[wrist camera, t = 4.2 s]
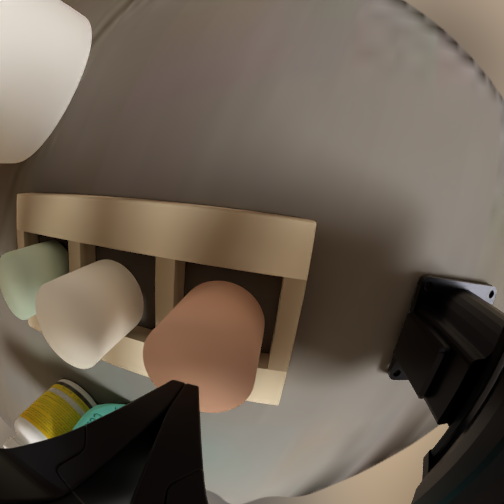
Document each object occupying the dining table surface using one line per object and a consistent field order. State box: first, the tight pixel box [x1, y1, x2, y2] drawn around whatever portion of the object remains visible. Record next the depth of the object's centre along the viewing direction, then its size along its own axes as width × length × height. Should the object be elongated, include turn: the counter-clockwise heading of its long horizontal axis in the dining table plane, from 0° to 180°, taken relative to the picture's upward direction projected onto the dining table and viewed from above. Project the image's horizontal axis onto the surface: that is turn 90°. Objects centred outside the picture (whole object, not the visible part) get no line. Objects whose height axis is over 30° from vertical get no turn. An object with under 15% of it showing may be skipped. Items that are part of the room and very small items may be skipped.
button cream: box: [35, 259, 144, 369], centre depth 11 cm, size 4×4×4 cm
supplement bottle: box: [3, 379, 97, 448], centre depth 13 cm, size 5×5×10 cm
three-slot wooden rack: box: [17, 193, 317, 405], centre depth 14 cm, size 19×10×2 cm, turn 83°
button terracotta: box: [143, 281, 265, 413], centre depth 10 cm, size 4×4×4 cm
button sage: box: [0, 240, 70, 320], centre depth 13 cm, size 4×4×4 cm
